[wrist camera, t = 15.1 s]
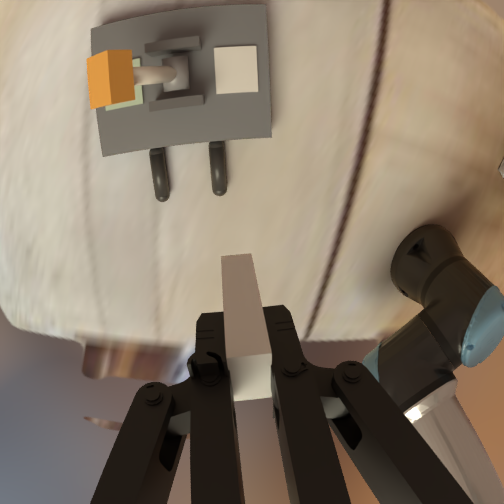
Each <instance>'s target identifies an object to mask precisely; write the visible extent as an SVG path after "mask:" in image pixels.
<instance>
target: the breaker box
mask: <svg viewBox="0 0 504 504" xmlns="http://www.w3.org/2000/svg"><path fill="white" fill-rule="evenodd" d="M106 50H132V62H133V67H142V66H162V59H164V58H169V57H175V56H188V70H189V85H190V89H185V90H177V91H169V92H164V88H163V83H158V84H147V85H137V86H134V89H135V100H132V101H127V102H122V103H118V104H113V105H108V106H104V107H99V108H96V113H97V121H98V129H99V136H100V143H101V149H102V155H103V157H105V156H111V155H116V154H122V153H127V152H133V151H140V150H146V149H150V152H149V155H150V163H151V170H152V176H153V183H154V189H155V195H156V199H157V200H158V201H160V202H165V201H167V200H168V198H169V196H170V193H169V186H168V179H167V171H166V164H165V156H164V150H163V148H162V147H167V146H175V145H183V144H192V143H201V142H210V143H209V156H210V168H211V179H212V190H213V193H214V194H215V195H217V196H222V195H224V194H225V193H226V191H227V181H226V167H225V154H224V144H223V142H222V141H223V140H236V139H252V138H272V131H271V101H270V76H269V53H268V33H267V14H266V4H237V5H218V6H205V7H195V8H186V9H179V10H172V11H165V12H159V13H154V14H148V15H143V16H138V17H134V18H129V19H125V20H121V21H117V22H113V23H109V24H106V25H102V26H99V27H95V28H92V29H91V52H92V56H94V55H96V54H99V53H101V52H104V51H106Z"/></svg>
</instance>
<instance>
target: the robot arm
mask: <svg viewBox="0 0 504 504" xmlns="http://www.w3.org/2000/svg"><path fill="white" fill-rule="evenodd" d="M221 264H222V288H223V309H224V312H213V313H202V314H201V315H200V317H199V319H198V320H197V322H196V344H195V353H193V354H192V355H191V356H190V358H189V359H188V362H187V367H188V371H189V374H190V377H189V378H188V379H186V380H185V381H183V382H181V383H179V384H176V385H172V386H169V387H167V386H166V385H165V384H163V383H160V382H151V383H147V384H145V385H144V386H142V387H141V388H140V389H139V390H138V392H137V393H136V395H135V397H134V399H133V402H132V404H131V406H130V409H129V411H128V413H127V416H126V418H125V420H124V422H123V424H122V427H121V429H120V431H119V434H118V436H117V439H116V441H115V443H114V446H113V448H112V451H111V453H110V455H109V458H108V460H107V462H106V465H105V467H104V470H103V472H102V475H101V477H100V480H99V482H98V485H97V487H96V490H95V493H94V495H93V498H92V500H91V503H90V504H167V501H168V498H169V494H170V491H171V487H172V484H173V480H174V477H175V474H176V470H177V467H178V464H179V460H180V457H181V453H182V450H183V446H184V443H185V440H186V437H187V434H188V433H190V469H191V470H190V471H191V504H245V498H244V489H243V481H242V472H241V463H240V453H239V443H238V434H237V423H236V413H235V408H234V401H241V400H251V399H260V398H269V397H272V398H273V418H275V423H276V428H277V434H278V439H279V444H280V450H281V456H282V461H283V467H284V472H285V478H286V483H287V488H288V494H289V499H290V504H351V502H350V498H349V494H348V491H347V488H346V484H345V480H344V476H343V473H342V469H341V466H340V463H339V459H338V455H337V452H336V449H335V445H334V442H333V438H332V435H331V432H330V428H329V425H330V427H331V428H332V430H333V431H334V433H335V435H336V436H337V438H338V439H339V441H340V442H341V444H342V446H343V447H344V449H345V450H346V452H347V453H348V455H349V456H350V458H351V460H352V461H353V463H354V464H355V466H356V467H357V469H358V470H359V472H360V474H361V475H362V477H363V478H364V480H365V481H366V483H367V484H368V486H369V487H370V489H371V490H372V492H373V494H374V495H375V497H376V498H377V499H378V501H379V503H380V504H504V488H503V486H502V483H501V481H500V479H499V477H498V475H497V473H496V471H495V468H494V466H493V464H492V462H491V460H490V458H489V456H488V454H487V452H486V450H485V448H484V446H483V444H482V442H481V441H480V439H479V437H478V435H477V433H476V431H475V429H474V428H473V426H472V424H471V422H470V420H469V418H468V417H467V415H466V413H465V412H464V410H463V408H462V406H461V404H460V403H459V401H458V399H457V398H456V395H455V391H456V386H457V382H458V380H457V379H456V377H455V376H454V374H453V371H454V370H455V369H456V368H457V367H458V366H460V365H461V364H462V363H463V365H464V366H467V367H474V366H476V365H477V364H478V363H481V362H482V361H484V360H485V359H486V358H487V357H488V356H489V355H490V354H491V353H492V352H493V351H494V349H495V348H496V347H497V346H498V344H499V342H500V341H501V340H502V338H503V336H504V296H503V294H502V293H501V292H500V290H499V288H498V287H497V286H495V285H493V284H492V283H491V282H490V281H489V280H488V279H487V278H486V277H485V276H484V275H483V274H482V273H481V272H480V271H479V270H478V269H477V268H475V267H474V266H473V265H472V264H471V263H470V262H469V261H468V260H467V259H466V258H465V257H464V256H463V254H462V252H461V250H460V248H459V247H458V245H457V243H456V240H455V238H454V237H453V236H452V234H451V233H450V232H448V231H447V230H446V229H445V228H443V227H442V226H439V225H434V224H431V225H426V226H423V227H420V228H418V229H417V230H415V231H413V232H412V233H411V234H410V235H409V236H407V237H406V238H405V240H404V241H403V242H402V243H401V245H400V246H399V247H398V249H397V251H396V253H395V255H394V257H393V260H392V264H391V278H392V281H393V283H394V285H395V286H396V287H397V289H398V290H399V291H400V292H401V293H402V294H403V295H405V296H406V297H409V298H410V299H412V300H414V301H415V302H417V303H419V304H421V305H422V306H423V307H424V309H423V310H422V311H421V312H420V313H419V314H418V315H416V316H415V317H414V318H413V319H411V320H410V321H409V322H408V323H407V324H405V325H404V326H403V327H402V328H400V329H399V330H398V331H396V332H395V333H394V334H393V335H391V336H390V337H389V338H387V339H386V340H385V341H383V342H380V343H379V344H378V346H377V347H376V348H375V349H374V350H372V351H371V352H370V353H369V354H367V355H366V356H365V358H364V360H363V362H362V363H359V362H356V361H346V362H342V363H340V364H339V365H337V367H336V368H335V369H332V368H322V367H317V366H315V365H312V364H311V363H310V362H308V361H307V360H306V359H305V357H304V355H303V352H302V349H301V345H300V342H299V339H298V336H297V332H296V330H295V326H294V323H293V319H292V316H291V313H290V311H289V310H288V309H287V308H286V307H285V306H284V305H277V306H268V307H262V303H261V298H260V293H259V289H258V284H257V279H256V274H255V269H254V264H253V260H252V255H251V254H241V255H230V256H221ZM425 325H426V326H425ZM427 328H428V329H427ZM430 332H431V333H430ZM432 335H433V336H432ZM434 338H435V339H434ZM436 341H437V342H436ZM450 362H451V363H450ZM328 423H329V425H328Z"/></svg>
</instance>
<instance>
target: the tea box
mask: <svg viewBox="0 0 504 504" xmlns="http://www.w3.org/2000/svg"><path fill="white" fill-rule="evenodd" d="M498 170H499V172H500V173H501V175H502V177H503V178H504V159H503V161H502V163H501V165H500V167H499V169H498Z"/></svg>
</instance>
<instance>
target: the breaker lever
mask: <svg viewBox="0 0 504 504" xmlns="http://www.w3.org/2000/svg"><path fill="white" fill-rule="evenodd" d="M87 74H88V86H89V97H90V106H91V109H94V108H99V107H104V106H108V105H113V104H118V103H122V102H127V101H132V100H135V89H134V86H137V85H147V84H158V83H163V88H164V92H169V91H177V90H185V89H190V85H189V70H188V56H175V57H169V58H164V59H162V66H142V67H133V62H132V50H106V51H104V52H101V53H99V54H96V55H94V56H92V57H90V58H87Z"/></svg>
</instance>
